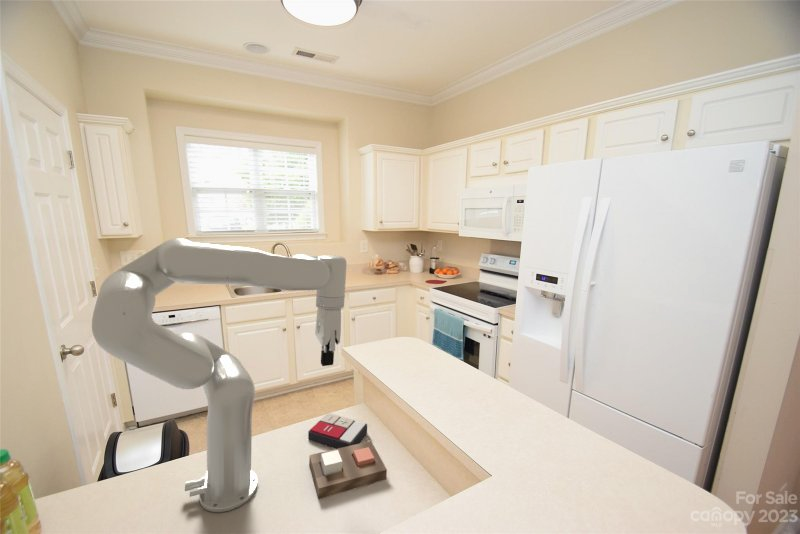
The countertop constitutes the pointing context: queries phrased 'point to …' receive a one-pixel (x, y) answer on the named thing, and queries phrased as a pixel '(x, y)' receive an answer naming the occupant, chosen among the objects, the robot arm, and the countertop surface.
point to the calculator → (337, 431)
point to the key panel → (346, 471)
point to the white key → (331, 463)
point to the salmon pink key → (363, 457)
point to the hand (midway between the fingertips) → (326, 364)
